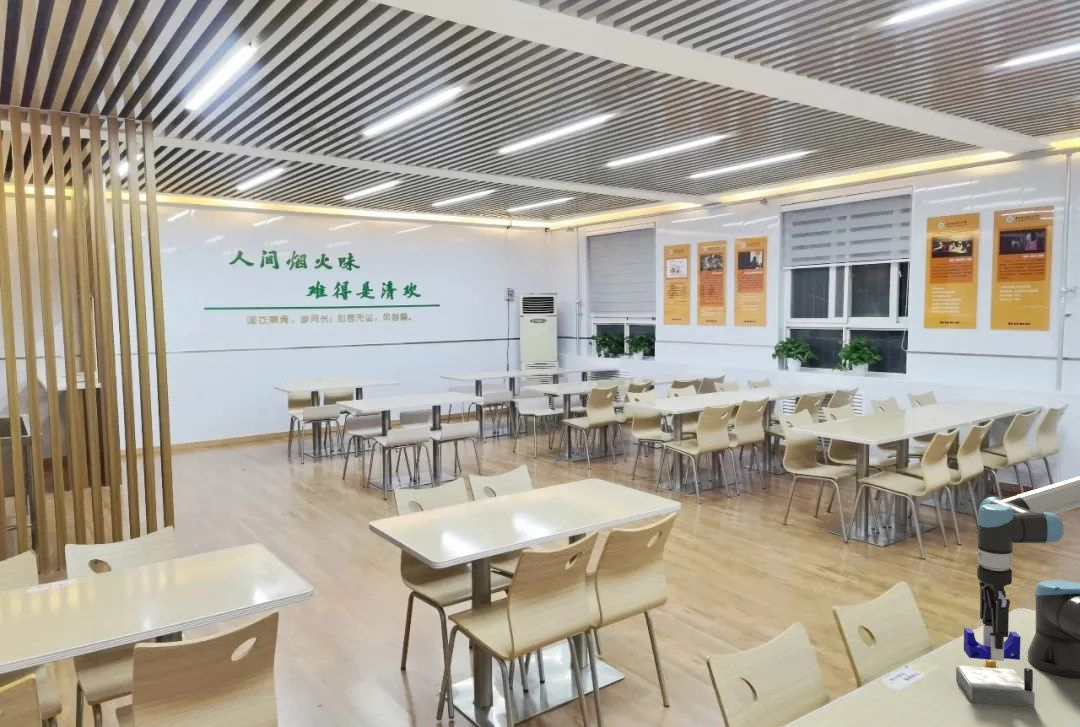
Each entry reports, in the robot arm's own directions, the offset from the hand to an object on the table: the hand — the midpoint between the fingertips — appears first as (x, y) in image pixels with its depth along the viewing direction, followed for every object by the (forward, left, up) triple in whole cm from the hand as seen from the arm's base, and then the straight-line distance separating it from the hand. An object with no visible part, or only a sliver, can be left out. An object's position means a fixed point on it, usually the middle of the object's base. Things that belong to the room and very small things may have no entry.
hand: (993, 654), depth 187 cm
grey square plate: (0, 0, -10) cm, 10 cm away
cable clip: (0, 0, 0) cm, 1 cm away
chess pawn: (-3, -11, -10) cm, 15 cm away
